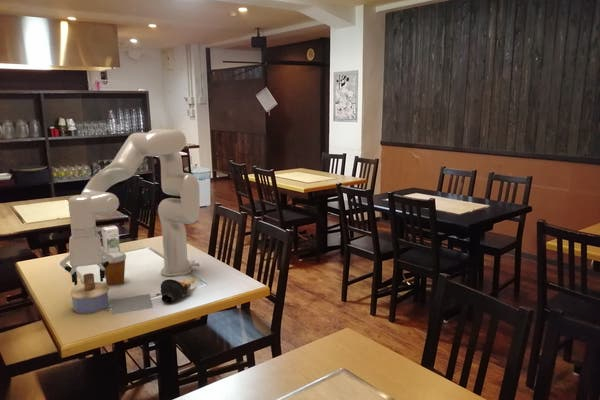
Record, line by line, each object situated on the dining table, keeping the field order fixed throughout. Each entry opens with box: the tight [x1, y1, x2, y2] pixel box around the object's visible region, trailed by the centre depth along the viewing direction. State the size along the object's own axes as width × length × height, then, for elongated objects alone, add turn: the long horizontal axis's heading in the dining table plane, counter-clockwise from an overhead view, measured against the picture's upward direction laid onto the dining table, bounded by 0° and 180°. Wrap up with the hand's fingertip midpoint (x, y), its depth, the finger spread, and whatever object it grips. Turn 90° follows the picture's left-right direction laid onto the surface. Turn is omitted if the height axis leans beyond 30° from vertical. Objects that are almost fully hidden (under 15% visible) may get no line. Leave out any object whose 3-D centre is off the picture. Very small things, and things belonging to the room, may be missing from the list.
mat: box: [111, 293, 154, 315], centre depth 158 cm, size 13×13×1 cm
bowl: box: [71, 291, 109, 314], centre depth 156 cm, size 11×11×6 cm
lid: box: [70, 272, 110, 299], centre depth 155 cm, size 12×12×6 cm
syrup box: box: [101, 225, 121, 253], centre depth 209 cm, size 6×6×14 cm
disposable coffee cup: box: [102, 251, 127, 287], centre depth 177 cm, size 10×10×12 cm
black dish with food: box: [160, 277, 197, 304], centre depth 165 cm, size 9×11×18 cm
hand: (89, 281), depth 154 cm, fingers open, 7 cm apart
